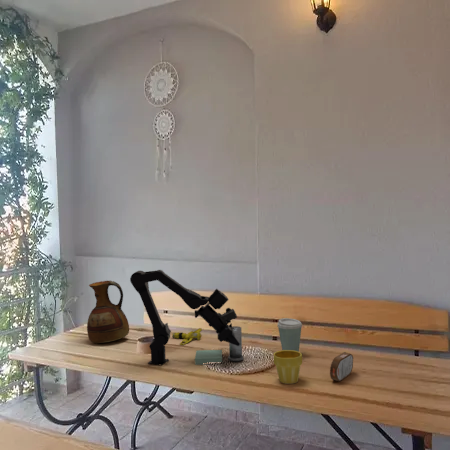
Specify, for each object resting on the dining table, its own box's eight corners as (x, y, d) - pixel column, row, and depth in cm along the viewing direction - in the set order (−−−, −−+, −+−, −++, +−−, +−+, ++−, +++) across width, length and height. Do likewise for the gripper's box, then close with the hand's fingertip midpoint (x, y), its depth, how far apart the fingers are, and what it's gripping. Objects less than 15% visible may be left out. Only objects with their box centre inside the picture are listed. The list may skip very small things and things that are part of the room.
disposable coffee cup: (306, 352, 193) (305, 318, 192) (299, 360, 183) (298, 324, 182) (282, 350, 197) (281, 316, 197) (274, 357, 187) (273, 322, 187)
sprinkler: (179, 325, 230) (206, 326, 225) (179, 332, 231) (207, 333, 226) (162, 340, 212) (192, 341, 207) (163, 348, 212) (193, 349, 208)
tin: (347, 371, 169) (346, 349, 169) (355, 372, 167) (354, 350, 167) (329, 383, 158) (328, 359, 157) (337, 385, 156) (337, 361, 155)
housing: (240, 362, 181) (239, 330, 181) (225, 360, 183) (225, 329, 183) (245, 357, 187) (245, 326, 187) (231, 355, 189) (230, 325, 189)
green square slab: (222, 363, 181) (221, 357, 181) (195, 364, 181) (194, 358, 181) (222, 355, 192) (221, 349, 192) (196, 356, 192) (196, 350, 192)
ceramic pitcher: (87, 337, 227) (85, 279, 226) (127, 333, 233) (125, 276, 232) (87, 348, 208) (85, 284, 208) (131, 343, 214) (129, 281, 214)
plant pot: (269, 378, 164) (268, 351, 164) (293, 374, 167) (293, 348, 167) (282, 388, 154) (281, 360, 154) (308, 383, 158) (307, 355, 158)
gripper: (225, 307, 175) (253, 335, 176) (225, 299, 194) (250, 323, 194) (205, 328, 175) (234, 355, 176) (207, 317, 194) (233, 342, 194)
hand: (238, 343), depth 185 cm, fingers closed on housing, 5 cm apart
